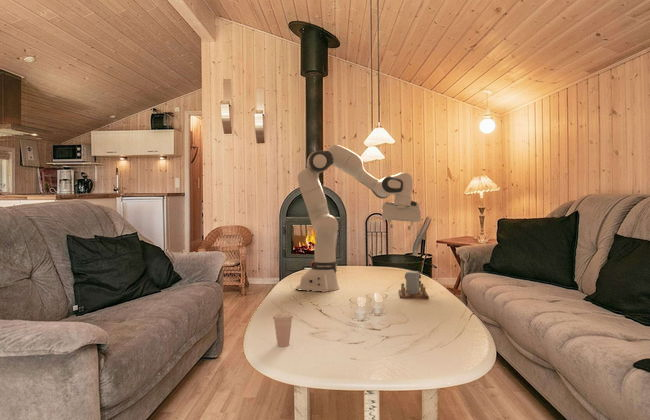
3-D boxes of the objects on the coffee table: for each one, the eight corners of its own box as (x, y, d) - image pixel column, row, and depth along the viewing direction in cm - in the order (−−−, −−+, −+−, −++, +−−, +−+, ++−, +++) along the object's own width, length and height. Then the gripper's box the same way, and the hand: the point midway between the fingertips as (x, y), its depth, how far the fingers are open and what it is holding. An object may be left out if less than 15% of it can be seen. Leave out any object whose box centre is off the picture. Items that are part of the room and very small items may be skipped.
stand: (400, 298, 196) (399, 288, 196) (398, 292, 209) (398, 282, 209) (428, 298, 195) (428, 288, 195) (425, 292, 208) (425, 283, 208)
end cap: (404, 283, 232) (404, 270, 232) (417, 283, 232) (417, 270, 232) (407, 286, 222) (407, 274, 222) (421, 286, 222) (420, 274, 222)
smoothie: (283, 340, 139) (282, 298, 139) (297, 344, 135) (296, 300, 135) (269, 345, 134) (268, 301, 134) (283, 349, 130) (282, 304, 130)
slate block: (406, 293, 201) (406, 272, 201) (409, 291, 206) (409, 270, 205) (416, 294, 199) (416, 273, 198) (419, 292, 203) (419, 271, 203)
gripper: (382, 200, 222) (379, 226, 220) (421, 203, 217) (419, 230, 215) (383, 203, 228) (380, 228, 226) (421, 206, 223) (419, 231, 221)
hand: (400, 229), depth 220 cm, fingers open, 8 cm apart
